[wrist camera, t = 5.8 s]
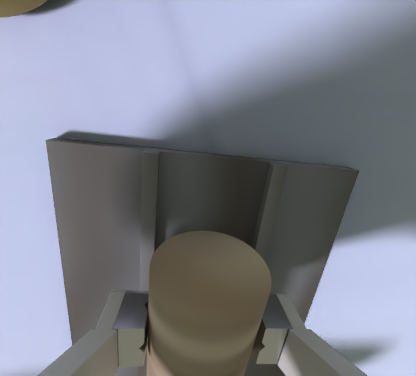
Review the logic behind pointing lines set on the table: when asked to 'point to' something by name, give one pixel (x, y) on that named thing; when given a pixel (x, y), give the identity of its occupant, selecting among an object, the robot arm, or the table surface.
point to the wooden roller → (204, 305)
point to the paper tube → (18, 6)
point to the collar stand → (186, 219)
